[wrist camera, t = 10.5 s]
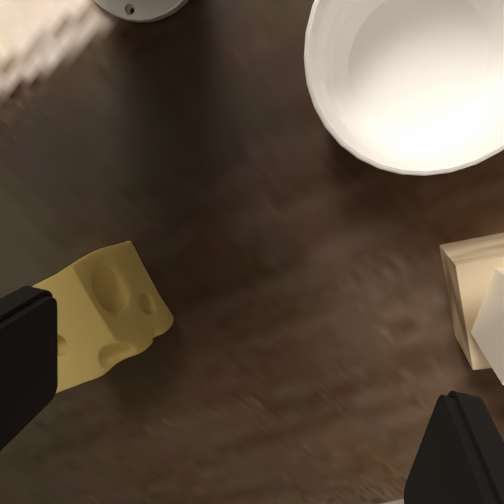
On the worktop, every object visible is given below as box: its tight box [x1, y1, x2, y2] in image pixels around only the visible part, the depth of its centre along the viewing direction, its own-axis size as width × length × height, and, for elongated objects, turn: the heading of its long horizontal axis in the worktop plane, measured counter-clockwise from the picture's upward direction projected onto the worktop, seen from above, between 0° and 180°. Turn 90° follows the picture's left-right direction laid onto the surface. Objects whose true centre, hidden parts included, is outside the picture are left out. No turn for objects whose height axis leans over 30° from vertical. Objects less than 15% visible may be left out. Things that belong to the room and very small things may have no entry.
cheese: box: [32, 241, 174, 393], centre depth 40 cm, size 10×11×10 cm
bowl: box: [304, 0, 504, 176], centre depth 29 cm, size 16×16×8 cm
